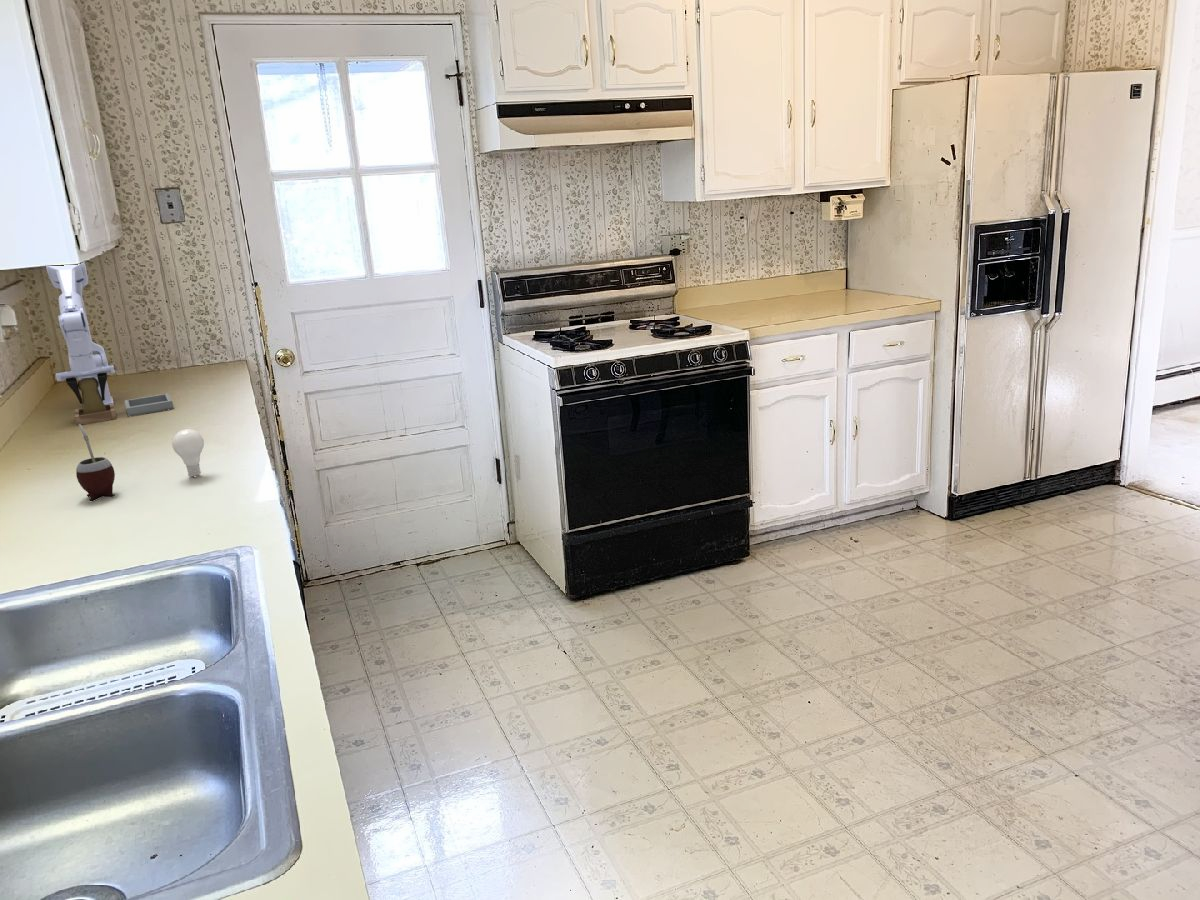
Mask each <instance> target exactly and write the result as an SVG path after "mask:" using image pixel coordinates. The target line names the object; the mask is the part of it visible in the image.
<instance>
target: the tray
mask: <svg viewBox="0 0 1200 900" xmlns="http://www.w3.org/2000/svg"><path fill="white" fill-rule="evenodd" d="M124 405H125V409H126V412H127V413H128V414H127V413H126V414H127V417H128V416H131V417H135V416H134V415H137V416H141V415H140V414H143V415H147V414H146V413H149V414H153V413H152V412H155V413H159V412H158V411H161V412H164V411H163V410H167V411H169V410H168V409H173V410H174V405H173V400H172V398H171V396H170V394H169V392H168V393H163V394H155V395H149V396H143V397H138V398H132V399H125V400H124Z"/></svg>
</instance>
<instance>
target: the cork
mask: <svg viewBox="0 0 1200 900" xmlns="http://www.w3.org/2000/svg"><path fill="white" fill-rule="evenodd" d="M77 384H78V388H79V391H81V398H82V401H83V404H82V408H83V409H84V415H85V414H91V413H97V412H103V411H107V410H106V408H105V405H104V403H103V401H102V398H101V395H100V393H99V390H98V387H99V382H98V380H97V379H96V378H84V379H81V380H79V379H78V381H77Z"/></svg>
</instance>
